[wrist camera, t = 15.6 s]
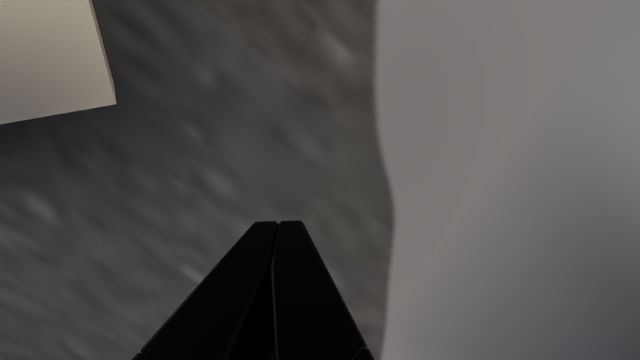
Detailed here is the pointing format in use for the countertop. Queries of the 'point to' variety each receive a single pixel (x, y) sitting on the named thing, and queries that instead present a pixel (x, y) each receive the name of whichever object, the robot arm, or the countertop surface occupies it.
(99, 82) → the domino
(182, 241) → the countertop surface
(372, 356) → the robot arm
